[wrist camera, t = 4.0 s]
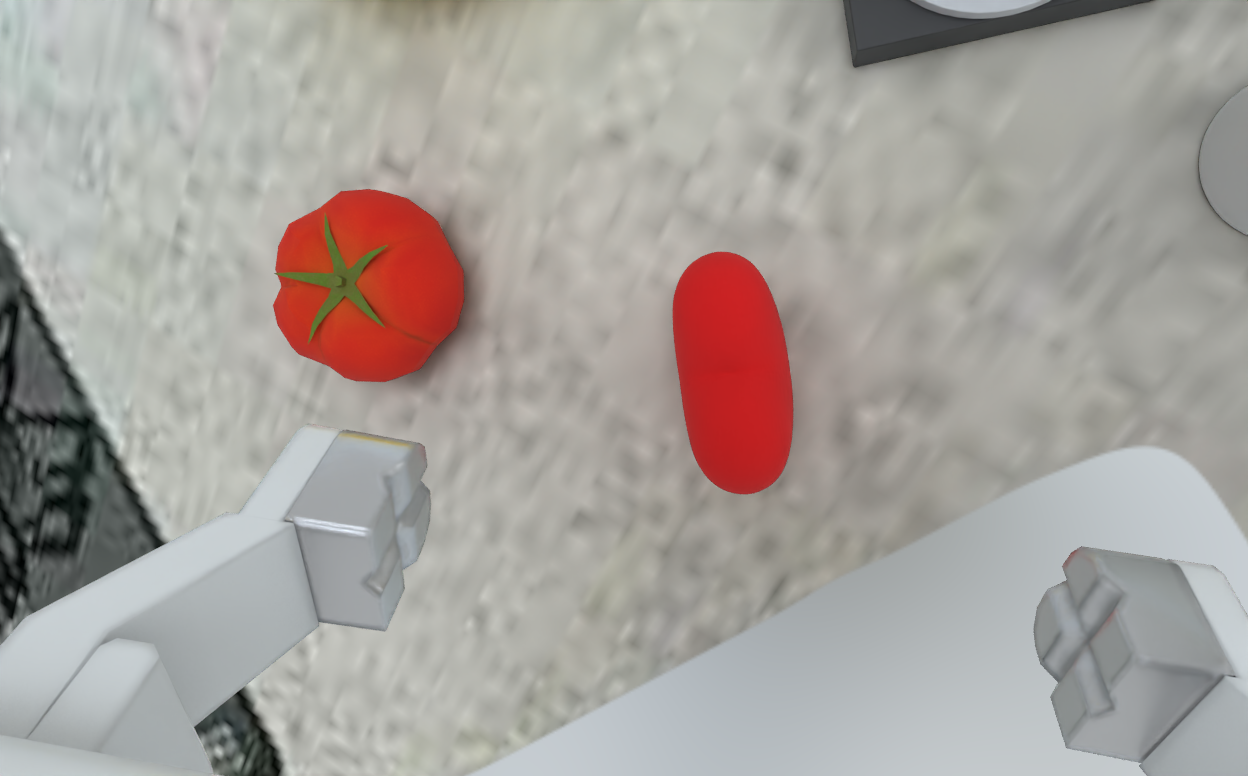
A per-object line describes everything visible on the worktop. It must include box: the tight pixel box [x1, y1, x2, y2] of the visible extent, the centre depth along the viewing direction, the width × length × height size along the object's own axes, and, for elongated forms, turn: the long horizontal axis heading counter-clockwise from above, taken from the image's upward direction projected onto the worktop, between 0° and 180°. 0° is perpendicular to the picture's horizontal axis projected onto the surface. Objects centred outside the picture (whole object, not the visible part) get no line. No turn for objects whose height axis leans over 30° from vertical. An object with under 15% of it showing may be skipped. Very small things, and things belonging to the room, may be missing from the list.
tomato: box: [273, 189, 464, 382], centre depth 46 cm, size 11×11×8 cm
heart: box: [673, 252, 793, 494], centre depth 41 cm, size 12×5×10 cm, turn 8°
